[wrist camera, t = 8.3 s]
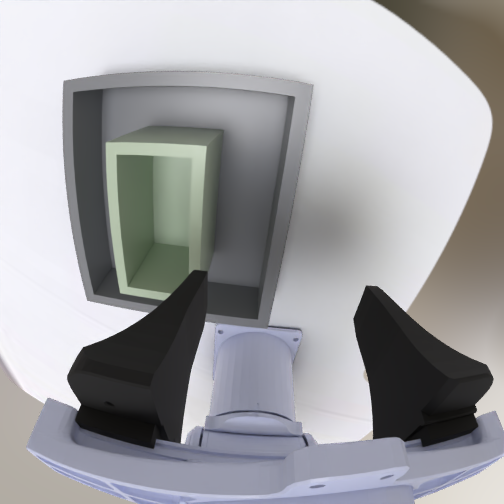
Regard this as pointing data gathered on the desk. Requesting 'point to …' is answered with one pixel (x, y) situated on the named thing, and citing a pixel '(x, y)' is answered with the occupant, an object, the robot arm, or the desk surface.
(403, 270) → the desk surface
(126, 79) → the charcoal crate
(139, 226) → the sage crate
